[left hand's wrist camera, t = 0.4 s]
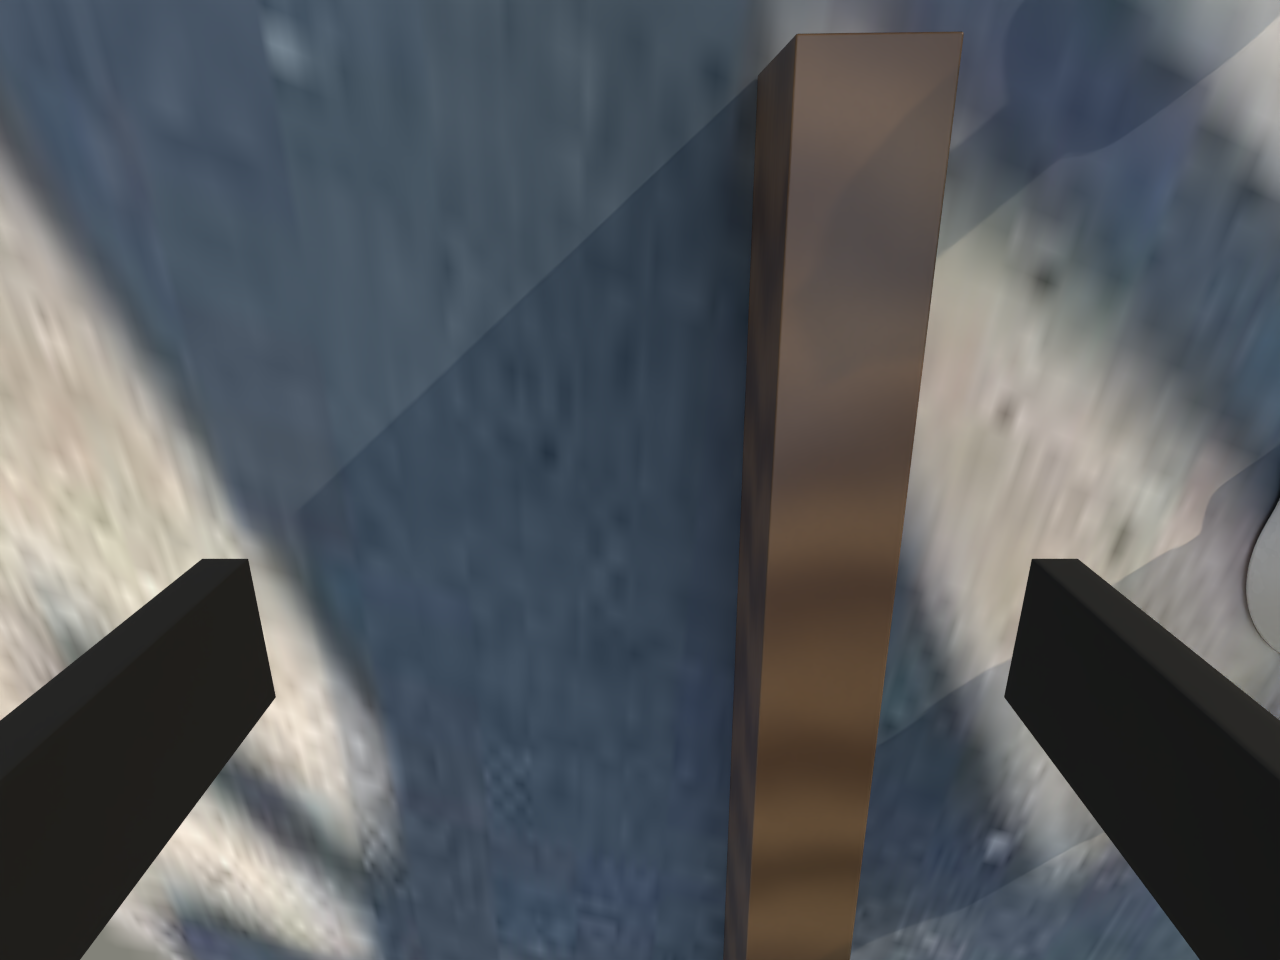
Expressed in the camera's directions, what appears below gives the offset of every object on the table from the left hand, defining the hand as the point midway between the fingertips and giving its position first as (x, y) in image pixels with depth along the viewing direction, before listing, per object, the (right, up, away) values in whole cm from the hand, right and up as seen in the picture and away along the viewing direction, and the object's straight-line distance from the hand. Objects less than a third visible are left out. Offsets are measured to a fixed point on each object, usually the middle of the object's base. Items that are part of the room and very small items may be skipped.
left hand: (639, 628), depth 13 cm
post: (+8, -7, +30) cm, 32 cm away
